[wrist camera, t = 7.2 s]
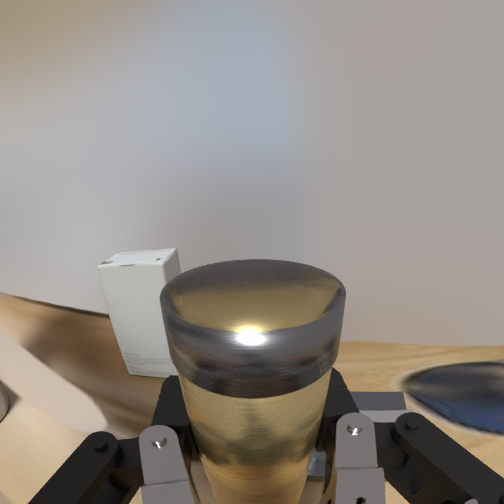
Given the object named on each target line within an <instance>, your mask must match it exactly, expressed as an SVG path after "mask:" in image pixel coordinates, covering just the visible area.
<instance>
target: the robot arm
mask: <svg viewBox="0 0 504 504" xmlns="http://www.w3.org/2000/svg"><path fill="white" fill-rule="evenodd" d="M8 406H9V398H8V395H7V393H6V392H5V390H4V388H3V386H2V384H1V382H0V421H1V420H2V418H3V417H4V416H5V414H6V412H7V410H8ZM315 449H316V452H323V451H325V454H326V460H325V466H324V476H323V485H322V494H321V500H320V504H385V480H384V478H385V479H386V480H387V481H388V482H389V483H390V484H391V485H392V486H393V487H394V488H395V489H396V490H397V491H398V492H399V493H400V494H401V495H402V496H403V497H404V498H405V499H406V500H407V501H408V502H409V503H410V504H504V478H503V477H501V476H500V475H499V474H497V473H496V472H495V471H493V470H492V469H491V468H489V467H488V466H487V465H485V464H484V463H483V462H481V461H480V460H479V459H477V458H476V457H475V456H474V455H472V454H471V453H470V452H468V451H467V450H466V449H465V448H463V447H462V446H461V445H459V444H458V443H457V442H456V441H454V440H453V439H452V438H450V437H449V436H448V435H447V434H445V433H444V432H443V431H442V430H440V429H439V428H438V427H436V426H435V425H434V424H433V423H431V422H430V421H429V420H428V419H426V418H425V417H424V416H422V415H421V414H418V413H415V412H407V413H404V414H402V415H400V416H399V417H398V418H397V419H396V421H395V422H373V421H372V420H371V418H369V417H368V416H367V415H365V414H362V413H360V412H359V410H358V408H357V406H356V404H355V402H354V400H353V398H352V396H351V394H350V392H349V390H348V389H347V386H346V384H345V382H344V380H343V378H342V376H341V374H340V373H339V372H338V371H337V370H335V369H334V368H333V367H332V369H331V375H330V381H329V386H328V391H327V397H326V401H325V406H324V411H323V416H322V420H321V425H320V429H319V433H318V437H317V441H316V445H315ZM192 460H199V451H198V448H197V444H196V441H195V438H194V434H193V431H192V427H191V424H190V420H189V417H188V413H187V409H186V405H185V401H184V397H183V393H182V389H181V385H180V381H179V376H178V375H170V376H169V377H168V378H167V379H166V380H165V381H164V382H163V385H162V388H161V393H160V395H159V400H158V402H157V406H156V409H155V413H154V416H153V420H152V424H151V426H150V427H148V428H146V429H145V430H144V431H143V432H142V433H141V434H140V436H139V437H136V438H132V439H123V440H117V439H116V438H115V436H114V435H112V434H111V433H108V432H104V431H99V432H94V433H92V434H90V435H89V436H88V437H87V438H86V439H85V440H84V441H83V442H82V443H81V444H80V445H79V447H78V448H77V449H76V450H75V451H74V452H73V453H72V454H71V456H70V457H69V458H68V459H67V460H66V461H65V462H64V463H63V465H62V466H61V467H60V468H59V469H58V470H57V471H56V472H55V474H54V475H53V476H52V477H51V478H50V479H49V480H48V482H47V483H46V484H45V485H44V486H43V487H42V488H41V489H40V491H39V492H38V493H37V494H36V495H35V496H34V497H33V498H32V500H31V501H30V502H29V503H28V504H129V503H130V501H131V500H132V498H133V497H134V495H135V494H136V492H137V490H138V489H139V487H141V492H142V498H143V504H201V501H200V498H199V495H198V492H197V489H196V486H195V483H194V480H193V477H192V474H191V471H190V470H191V461H192Z"/></svg>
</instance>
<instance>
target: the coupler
mask: <svg viewBox="0 0 504 504" xmlns="http://www.w3.org/2000/svg"><path fill="white" fill-rule="evenodd" d="M345 298H346V291H345V288H344V286H343V284H342V283H341V282H340V281H339V279H337V278H336V277H335V276H333V275H332V274H330V273H328V272H326V271H324V270H322V269H319V268H316V267H313V266H309V265H306V264H301V263H296V262H290V261H282V260H268V259H266V260H265V259H249V260H234V261H225V262H220V263H214V264H209V265H205V266H201V267H197V268H194V269H191V270H189V271H186V272H184V273H182V274H180V275H178V276H176V277H174V278H173V279H171V280H170V281H169V282H168V283H167V284H166V285H165V286H164V287H163V289H162V290H161V293H160V305H161V311H162V317H163V322H164V328H165V333H166V338H167V343H168V348H169V353H170V357H171V360H172V363H173V364H174V366H175V368H176V369H177V372H178V376H179V381H180V385H181V389H182V393H183V397H184V401H185V405H186V409H187V413H188V417H189V420H190V424H191V427H192V431H193V434H194V438H195V441H196V444H197V448H198V451H199V454H200V457H201V460H202V463H203V466H204V469H205V472H206V475H207V478H208V481H209V484H210V487H211V489H212V492H213V495H214V497H215V500H216V503H217V504H298V503H299V500H300V497H301V494H302V491H303V488H304V485H305V481H306V478H307V475H308V471H309V468H310V464H311V461H312V457H313V453H314V449H315V445H316V441H317V437H318V433H319V429H320V425H321V420H322V416H323V411H324V406H325V401H326V397H327V391H328V386H329V381H330V375H331V369H332V365H333V364H334V362H335V360H336V358H337V355H338V350H339V343H340V336H341V329H342V322H343V315H344V307H345Z"/></svg>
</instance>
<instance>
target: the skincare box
mask: <svg viewBox="0 0 504 504" xmlns="http://www.w3.org/2000/svg"><path fill="white" fill-rule="evenodd" d="M97 270H98V274H99V278H100V282H101V286H102V290H103V294H104V298H105V302H106V305H107V309H108V312H109V316H110V319H111V323H112V326H113V329H114V332H115V335H116V338H117V341H118V344H119V347H120V350H121V353H122V356H123V359H124V361H125V364H126V367H127V369H128V372H129V374H131V375H140V376H150V377H162V378H168V377H169V376H170V375H178V372H177V369H176V368H175V366H174V364H173V363H172V360H171V357H170V353H169V348H168V343H167V338H166V333H165V328H164V322H163V317H162V311H161V305H160V293H161V290H162V289H163V287H164V286H165V285H166V284H167V283H168V282H169V281H170V280H171V279H173V278H174V277H176V276H178V275H180V274H181V270H180V263H179V258H178V251H177V248H170V249H159V250H146V251H132V252H119V253H117V254H115V255H114V256H112V257H111V258H109V259H108V260H106V261H104V262H103V263H102V264H100V265H99V266H98V267H97Z"/></svg>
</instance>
